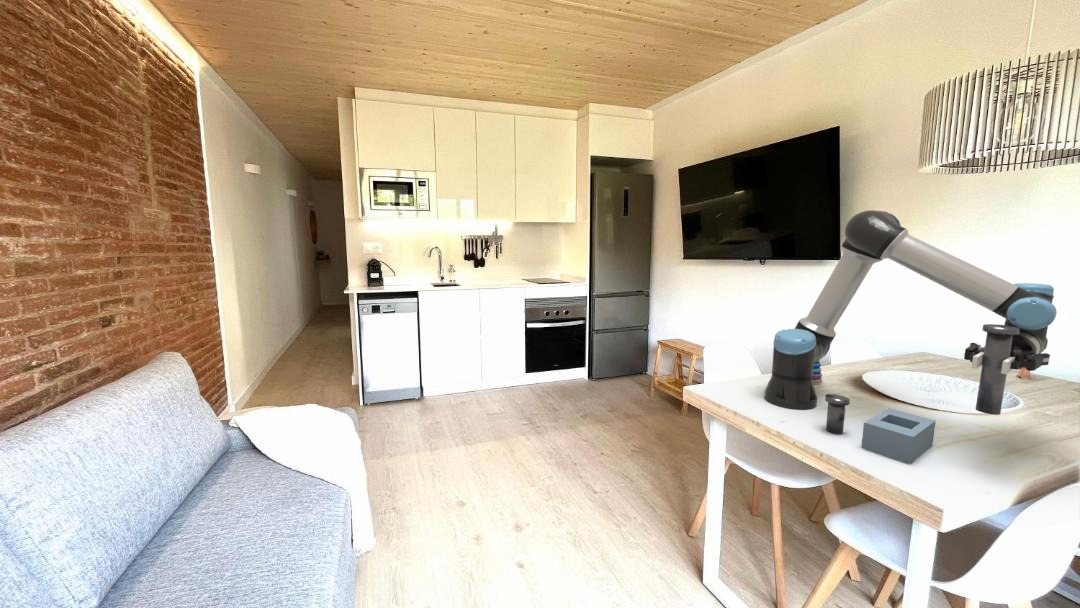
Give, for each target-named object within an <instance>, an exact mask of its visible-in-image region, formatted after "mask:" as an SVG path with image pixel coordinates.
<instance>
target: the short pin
mask: <svg viewBox="0 0 1080 608" xmlns="http://www.w3.org/2000/svg"><path fill="white" fill-rule="evenodd" d="M824 401H825V402H827V403H828V404H827V413H826V414H827V415H826V423H825V424H826V425H825V431H826V432H827V433H829V434H832V435H843V434H844V426H845V417H846V406H849V405H850V402H851V399H850V398H849V397H848V396H845V395H842V394H836V393H835V394H834V393H827V394H825V397H824Z"/></svg>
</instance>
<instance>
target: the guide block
mask: <svg viewBox="0 0 1080 608" xmlns="http://www.w3.org/2000/svg"><path fill="white" fill-rule="evenodd" d="M936 422H937V421H936V420H935V419H932V418H928V417H924V416H919V415H917V414H912V413H908V412H904V411H901V410H897V409H892V408H889V407H888V408H887V409H884V410H883V411H881V412H879V413H878V414H876V415H875V416H873V417H870V418H869V419H868V420H865V421H864V422H863V429H862V438H861V449H863V450H865V451H866V450H867V451H870V452H872V453H874V454H877V455H881V456H883V457H886V458H890V459H893V460H895V461H899V462H902V463H904V464H907V465H911V464H912V463H913V462H915V461H916V460H917V459H919V458H920V457H921V456H922V455H924V453H926V452H927V451H928V450H929V449H931V447H933V445H934V439H935V438H934V437H935V429H936Z"/></svg>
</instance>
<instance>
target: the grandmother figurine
mask: <svg viewBox="0 0 1080 608" xmlns="http://www.w3.org/2000/svg"><path fill="white" fill-rule="evenodd" d="M1030 374H1031V371H1029V370H1026V368H1022V369H1019V370H1018V373H1017V374H1016V375H1015V377H1017V378H1020V379H1021V380H1025V381H1026V380H1030V381H1031V380H1032V379H1031V377H1030V376H1031V375H1030Z"/></svg>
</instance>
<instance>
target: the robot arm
mask: <svg viewBox="0 0 1080 608" xmlns="http://www.w3.org/2000/svg"><path fill="white" fill-rule="evenodd" d="M844 237H845V239H844V241H843V242H842V244H841V246H840V248H841V251H842V255H841V256H840V258H839V261H838V262H837V264H836V266H835V267H834V269H833V270H832V273H831V274H830V276H829V278H828V279H827V281H826V282H825V284H824V287H823V288H822V289H821V292H820V293H819V295H818V297H817V298H816V300H815V302H814V304H813V306H812V307H811V309H810V311H809V313H808V314H807V316H805V317H802V318H800V319H799V320H798V322H797V324H796V326H795V327H794V328H787V329H781V330H779V331H777V332H776V333H775V334H774V338H773V342H772V344H773V348H772V349H773V351H772V365H771V367H772V369H771V377H770V379H769V381H768V383H767V386H766V388H765V390H764V399H765V400H766V401H768V402H769V403H771V404H772V405H776V406H779V407H782V408H787V409H793V410H808V409H809V410H810V409H815V408H816V407H817V404H818V397H817V393H816V390H815V387H814V384H813V382H812V377H813V366H814V362H816V361H817V360H819V359H820V360H821V359H823V357H826V355H827V354H828V352H829V351H830V348H831V345H832V342H833V341H834V339H835V337H836V335H837V333H836V331H835V327H836V326H837V324H838V322H839V321H840V319H841V317H842V315H843V314H844V312H845V311H846V309H847V308H848V306H849V305H850V303H851V301H852V299H853V298H854V296H855V295H856V293H857V291H858V290H859V287H861V284H862V283H863V281H864V280H865V279H866V276H867V275H868V273H869V272H870V270H871V269H872V266H873V265H874V264H876V263H879V262H883V260H884V259H885V260H886V259H889V260H890V261H892V262H895V263H897V264H898V265H901V266H903V267H905V268H907V269H909V270H910V271H912V272H914V273H916V274H919V276H922V277H924V278H926V279H928V280H930V281H932V282H933V283H936V284H938V285H940V286H942V287H944V288H946V289H948V290H949V291H952V292H954V293H955V294H958V295H959V296H961V297H963V298H965V299H967V300H969V301H971V302H973V303H975V304H977V305H979V306H981V307H983V308H985V309H987V310H989V311H990V312H992V313H994V314H996V315H998V316H1000V317H1002V318H1004V319H1005V321H1004V324H1003V325H1006V326H1013V327H1017V328H1019V334H1018V335H1013V338H1012V345H1011V351H1010V357H1009V358H1007V359H1006V360H1004V361H1003V364H1002V370H1001V374H1007V375H1008V374H1009V372H1011V371H1013V370H1015V371H1017V370H1018V371H1019V369H1022V368H1026V370H1029V371H1030V372H1034V371H1035V370H1037V369H1038V368H1041V367H1043V366H1049V363H1050V357H1051V355H1050V353H1046V352H1045V353H1043V352H1044V351H1045V350H1046V349H1047V347H1048V342H1049V340H1048V337H1047V334H1048V328H1049V326H1051V325H1052V324H1053V322H1054V321H1055V319H1056V318H1057V317H1056V316H1057V313H1058V312H1057V308H1056V306H1055V305H1054V304H1053V300H1054V298H1055V296H1054V291H1055V288H1054V287H1053V285H1051V284H1045V283H1030V282H1028V283H1027V282H1026V283H1025V282H1024V283H1023V282H1021V283H1020V282H1019V283H1017V282H1016V283H1011V282H1009V281H1007V280H1006V279H1003V278H1001V277H998V276H997V275H996V274H992V273H991V272H988V271H986V270H984V269H983V268H980V267H977V266H975V265H973V264H972V263H969V262H967V261H965V260H963V259H961V258H958V257H957V256H955V255H952V254H950V253H948V252H946V251H944V250H942V249H940V248H937V247H935V246H934V245H932V244H929V243H927V242H925V241H923V240H920V239H919V238H917V237H915V236H913V235H911V234H909V230H908V229H907V228H905V227H903V226H902V225H901V222H900V220H899V219H898V218H897V216H895V215H893V213H889V212H888V211H882V210H874V209H871V210H863V211H861V212H859V213H857V214H855V215H854V216H852V217H851V218H850V219H849V220H848V221H847V223H846V225H845V228H844ZM984 350H985V345H984V346H982V345H981V344H978V343H975V342H970V343H969V346H968V347H966V348H965V349H964V357H963V359H964V360H965V361H969V362H971V369H973V370H976V369H979V368H981V367H982V363H983V356H984Z"/></svg>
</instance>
